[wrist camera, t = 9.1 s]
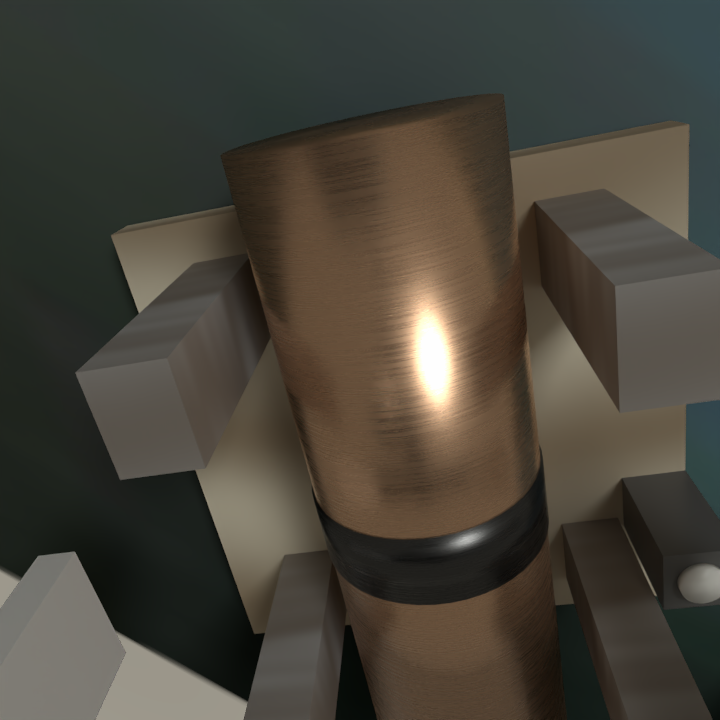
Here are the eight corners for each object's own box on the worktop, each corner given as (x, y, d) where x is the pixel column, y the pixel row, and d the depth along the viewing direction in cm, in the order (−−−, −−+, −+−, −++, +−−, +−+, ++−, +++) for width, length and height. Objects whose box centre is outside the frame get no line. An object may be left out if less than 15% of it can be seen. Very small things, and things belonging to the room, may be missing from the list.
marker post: (621, 477, 17) (666, 563, 14) (685, 470, 17) (744, 555, 14) (623, 525, 18) (666, 616, 15) (684, 518, 17) (740, 609, 14)
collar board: (127, 225, 16) (-56, 330, 10) (671, 120, 14) (887, 164, 8) (260, 609, 21) (198, 842, 15) (670, 568, 19) (800, 814, 13)
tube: (511, 627, 20) (611, 775, 16) (361, 687, 19) (421, 862, 15) (437, 97, 14) (568, 87, 9) (209, 150, 13) (231, 168, 8)
